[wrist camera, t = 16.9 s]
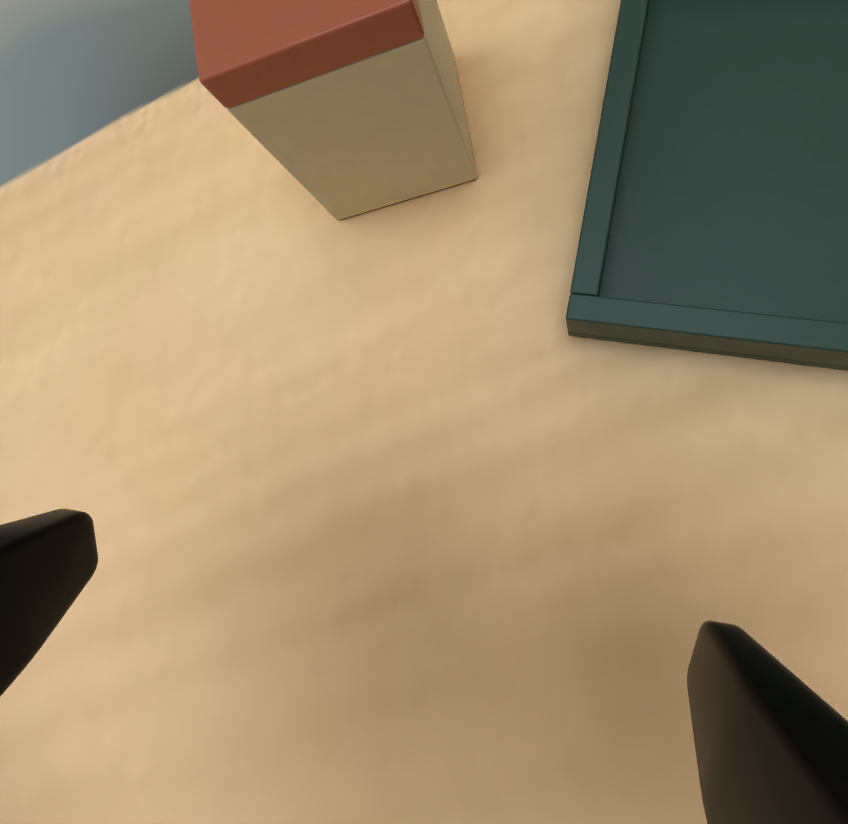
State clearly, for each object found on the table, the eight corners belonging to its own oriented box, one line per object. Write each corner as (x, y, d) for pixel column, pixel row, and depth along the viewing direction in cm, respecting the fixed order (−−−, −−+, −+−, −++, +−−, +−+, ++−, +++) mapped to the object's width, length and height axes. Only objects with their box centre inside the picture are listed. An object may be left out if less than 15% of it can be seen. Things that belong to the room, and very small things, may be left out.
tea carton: (478, 179, 22) (412, 1, 13) (337, 221, 23) (198, 82, 15) (453, 54, 22) (376, -187, 14) (318, 102, 24) (175, -94, 15)
